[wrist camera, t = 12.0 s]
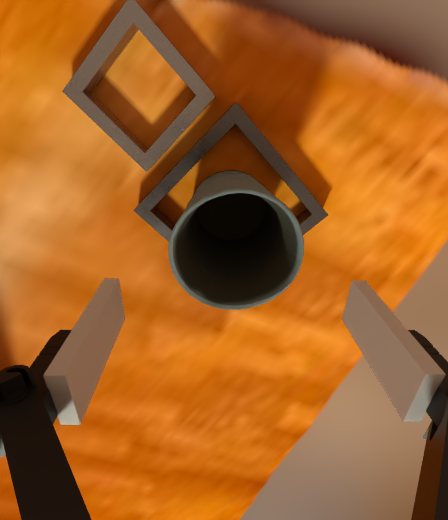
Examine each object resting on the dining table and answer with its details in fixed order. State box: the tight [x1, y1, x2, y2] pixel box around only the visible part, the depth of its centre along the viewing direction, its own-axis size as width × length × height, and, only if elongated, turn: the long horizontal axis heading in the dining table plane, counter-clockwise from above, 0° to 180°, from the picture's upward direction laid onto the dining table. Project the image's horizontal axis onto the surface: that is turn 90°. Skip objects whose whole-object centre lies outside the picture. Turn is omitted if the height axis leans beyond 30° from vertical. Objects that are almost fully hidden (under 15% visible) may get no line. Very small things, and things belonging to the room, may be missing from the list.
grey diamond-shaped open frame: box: [63, 0, 216, 172], centre depth 27 cm, size 9×9×2 cm
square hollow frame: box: [134, 103, 328, 241], centre depth 32 cm, size 14×14×2 cm
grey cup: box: [169, 170, 304, 310], centre depth 28 cm, size 10×10×12 cm
